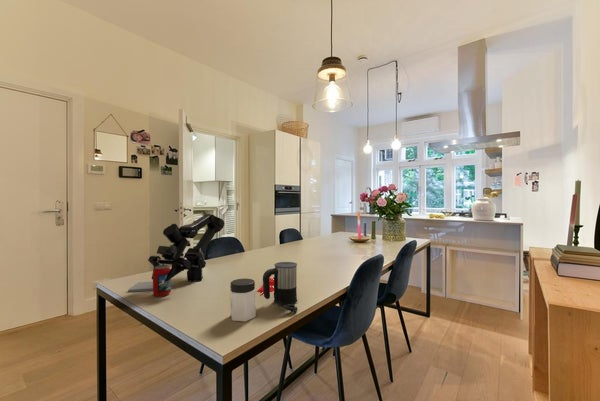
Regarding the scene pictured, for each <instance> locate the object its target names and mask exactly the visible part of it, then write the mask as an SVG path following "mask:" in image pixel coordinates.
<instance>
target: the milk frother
mask: <svg viewBox="0 0 600 401" xmlns="http://www.w3.org/2000/svg"><path fill="white" fill-rule="evenodd" d="M273 265H274V268H268V269H267V270H266V271H264V273H263V275H262V284H263V286H262V287H263V291H264V295H263V298H264V299H266V300H270V298H271V293H270V285H269V278H271V276H273V278H274V292H273V299H274V300H273V302H274V304H276V306H277V307H281V308H283V309H285V310H287V311H290V312H291V313H294V311H295V312H297V311H298V309H299V308H298V306H295V304H297V303H296V302H298V298H297V297H298V296H297V294H298V293H297V282H298V281H297V278H298V277H297V269H298V268H297V267H298V263H297V262H294V261H280V262H276V263H274V264H273Z"/></svg>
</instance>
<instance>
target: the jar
mask: <svg viewBox="0 0 600 401" xmlns="http://www.w3.org/2000/svg"><path fill="white" fill-rule="evenodd" d="M255 283H256V282H255V280H254V279H252V278H237V279H233V280H232V281H231V282H230V317H231V321H233V322H247V321H250V320H252V319H254V318H256V289H255V285H256V284H255Z"/></svg>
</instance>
